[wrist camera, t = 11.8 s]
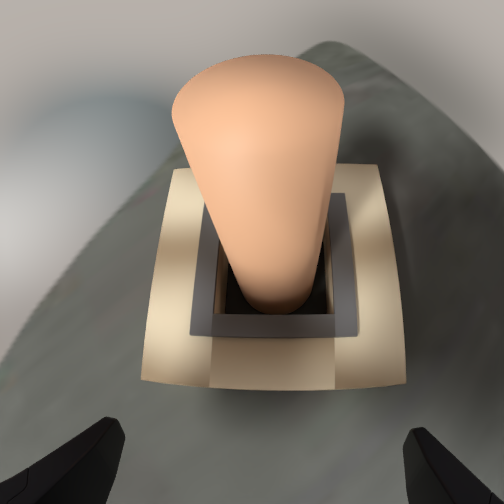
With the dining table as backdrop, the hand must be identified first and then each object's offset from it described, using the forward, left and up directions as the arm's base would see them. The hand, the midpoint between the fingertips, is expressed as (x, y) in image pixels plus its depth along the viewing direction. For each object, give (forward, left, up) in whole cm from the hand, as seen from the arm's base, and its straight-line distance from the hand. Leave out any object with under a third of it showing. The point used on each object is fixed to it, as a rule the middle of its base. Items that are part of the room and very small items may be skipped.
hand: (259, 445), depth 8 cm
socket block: (+8, -2, -7) cm, 10 cm away
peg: (+8, -2, -7) cm, 10 cm away
